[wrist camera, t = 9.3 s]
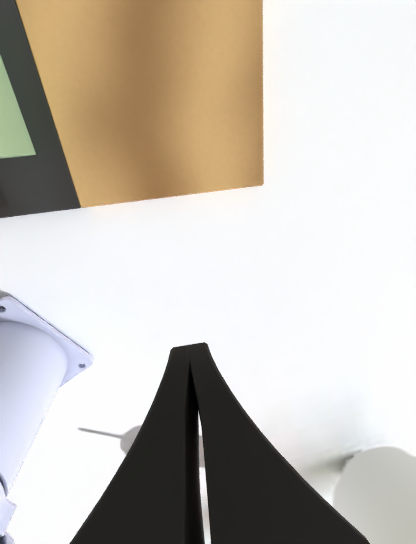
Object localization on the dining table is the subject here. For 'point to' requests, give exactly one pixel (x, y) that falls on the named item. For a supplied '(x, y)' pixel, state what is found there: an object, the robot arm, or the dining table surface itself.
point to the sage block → (12, 122)
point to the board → (132, 100)
